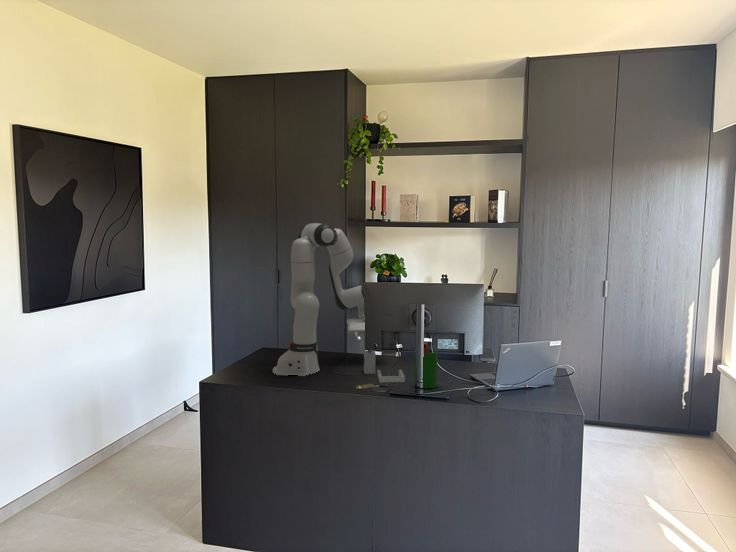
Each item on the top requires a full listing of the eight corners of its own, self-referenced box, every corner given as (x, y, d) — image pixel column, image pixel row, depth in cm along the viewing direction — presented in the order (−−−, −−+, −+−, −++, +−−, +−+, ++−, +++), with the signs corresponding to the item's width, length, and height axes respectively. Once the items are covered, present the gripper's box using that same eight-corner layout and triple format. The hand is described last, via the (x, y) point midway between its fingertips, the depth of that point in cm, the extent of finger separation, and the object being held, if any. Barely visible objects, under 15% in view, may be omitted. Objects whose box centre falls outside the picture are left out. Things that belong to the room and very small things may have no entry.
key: (358, 389, 228) (358, 388, 228) (354, 387, 231) (354, 385, 231) (374, 387, 232) (374, 385, 232) (370, 385, 235) (370, 383, 235)
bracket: (379, 382, 238) (379, 377, 238) (377, 375, 250) (377, 369, 249) (404, 382, 239) (404, 376, 239) (401, 374, 250) (401, 369, 250)
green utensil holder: (436, 383, 238) (437, 339, 236) (437, 389, 229) (438, 344, 227) (413, 382, 239) (414, 339, 237) (413, 388, 230) (414, 343, 228)
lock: (364, 374, 251) (364, 351, 250) (363, 370, 257) (364, 347, 256) (375, 374, 251) (375, 350, 250) (374, 370, 257) (374, 347, 256)
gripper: (346, 314, 267) (347, 337, 259) (386, 313, 269) (389, 336, 261) (346, 321, 272) (347, 344, 264) (385, 320, 274) (387, 343, 265)
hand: (368, 340), depth 262 cm, fingers open, 8 cm apart
